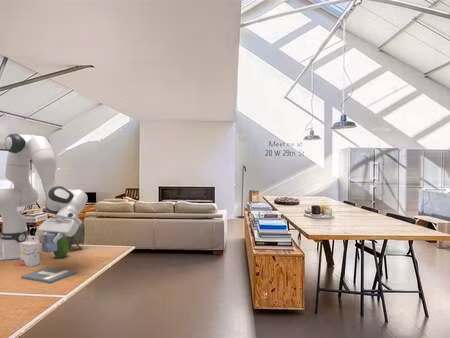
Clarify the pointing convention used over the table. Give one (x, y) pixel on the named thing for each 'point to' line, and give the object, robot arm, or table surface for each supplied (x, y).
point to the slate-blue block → (48, 243)
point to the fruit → (61, 247)
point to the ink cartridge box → (30, 251)
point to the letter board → (48, 275)
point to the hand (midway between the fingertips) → (48, 241)
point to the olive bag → (77, 236)
